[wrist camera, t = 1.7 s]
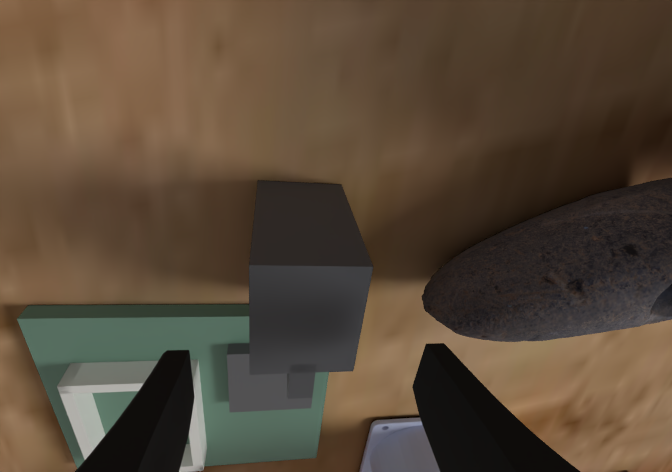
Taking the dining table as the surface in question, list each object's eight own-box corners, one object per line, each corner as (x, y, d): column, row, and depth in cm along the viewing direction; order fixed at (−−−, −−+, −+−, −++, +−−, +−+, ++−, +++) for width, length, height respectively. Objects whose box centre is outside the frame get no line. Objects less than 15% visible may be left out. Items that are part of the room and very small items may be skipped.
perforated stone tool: (414, 305, 23) (461, 405, 17) (398, 236, 21) (448, 327, 15) (651, 231, 23) (781, 308, 17) (667, 151, 20) (830, 210, 14)
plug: (341, 184, 18) (373, 266, 13) (328, 290, 22) (348, 396, 16) (257, 180, 18) (249, 265, 12) (256, 290, 21) (249, 400, 15)
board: (334, 303, 22) (341, 334, 20) (315, 444, 29) (318, 478, 27) (28, 305, 19) (-3, 341, 17) (86, 460, 26) (69, 500, 24)
